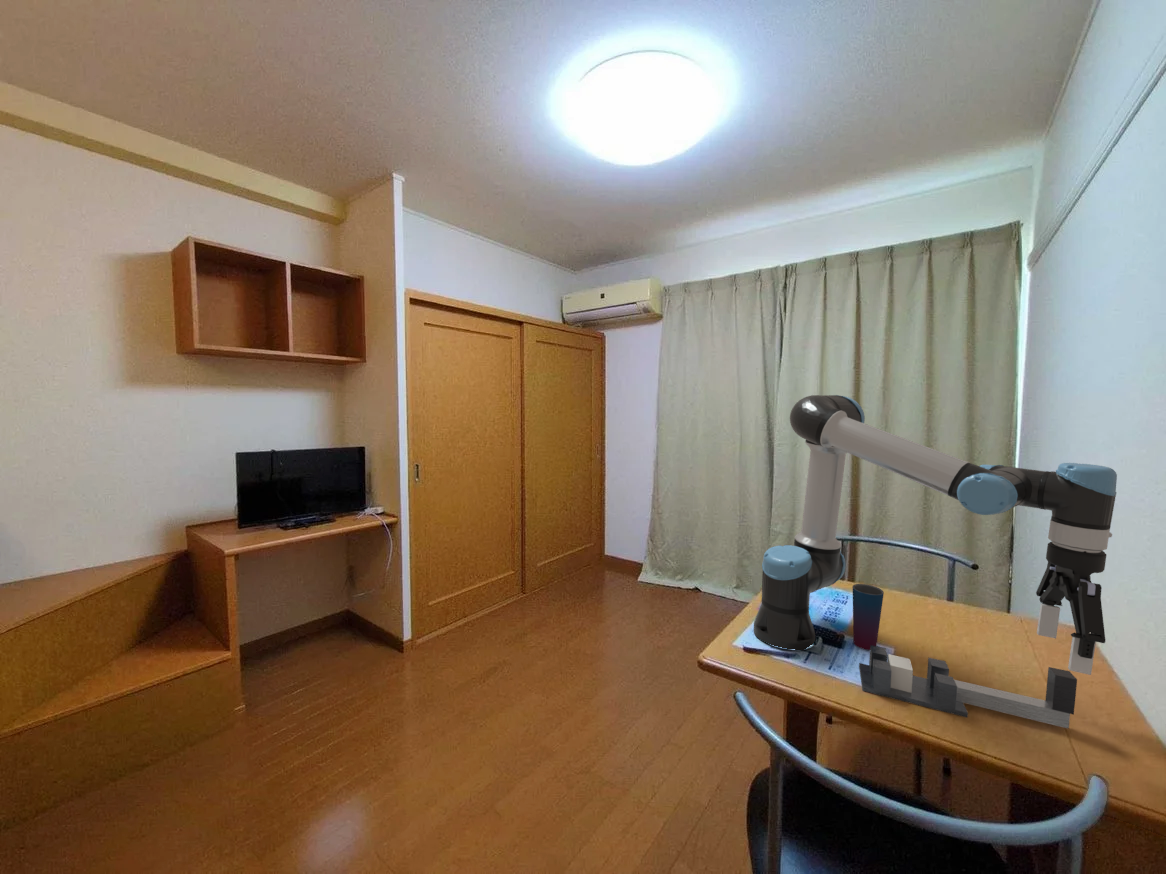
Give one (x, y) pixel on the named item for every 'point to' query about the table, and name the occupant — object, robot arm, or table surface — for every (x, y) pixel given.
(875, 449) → the robot arm
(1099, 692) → the table surface
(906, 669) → the block
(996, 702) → the sliding bolt
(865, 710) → the table surface
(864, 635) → the cup
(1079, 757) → the table surface
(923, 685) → the rail
